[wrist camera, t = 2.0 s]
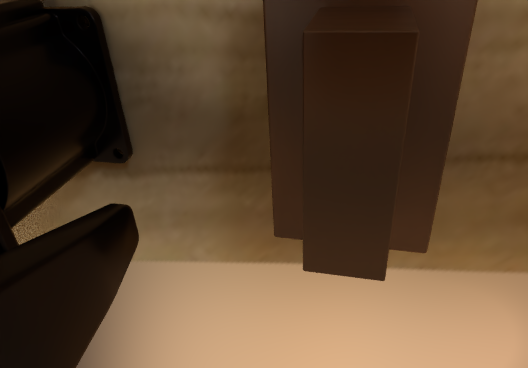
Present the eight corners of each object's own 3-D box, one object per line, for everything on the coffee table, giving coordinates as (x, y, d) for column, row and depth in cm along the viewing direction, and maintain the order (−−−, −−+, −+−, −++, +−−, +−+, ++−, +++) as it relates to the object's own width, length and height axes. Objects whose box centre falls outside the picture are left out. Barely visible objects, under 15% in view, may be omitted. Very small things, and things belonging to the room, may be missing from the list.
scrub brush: (421, 211, 17) (435, 320, 12) (286, 198, 18) (254, 294, 14) (469, -60, 12) (525, -47, 7) (280, -51, 13) (225, -35, 9)
